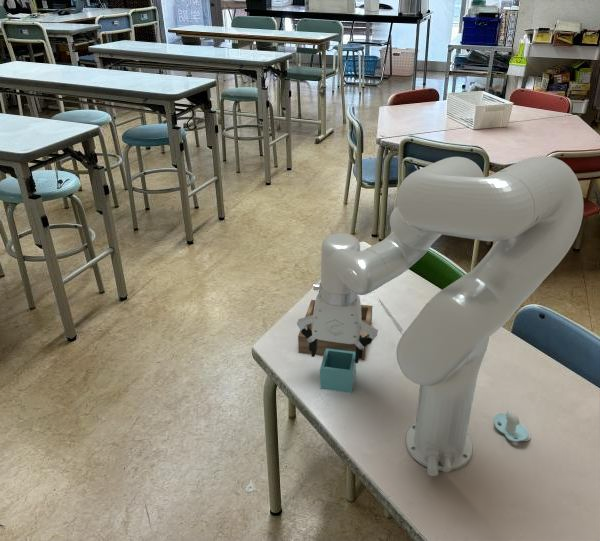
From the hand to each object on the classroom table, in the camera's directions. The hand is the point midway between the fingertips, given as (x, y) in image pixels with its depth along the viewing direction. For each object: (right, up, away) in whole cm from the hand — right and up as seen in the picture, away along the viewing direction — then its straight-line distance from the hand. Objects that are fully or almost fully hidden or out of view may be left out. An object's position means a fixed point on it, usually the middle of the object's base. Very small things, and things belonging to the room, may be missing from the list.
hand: (335, 356), depth 121 cm
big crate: (+1, +2, +17) cm, 17 cm away
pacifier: (+35, -14, -12) cm, 39 cm away
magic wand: (+16, +7, +26) cm, 31 cm away
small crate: (+1, -6, +3) cm, 7 cm away
